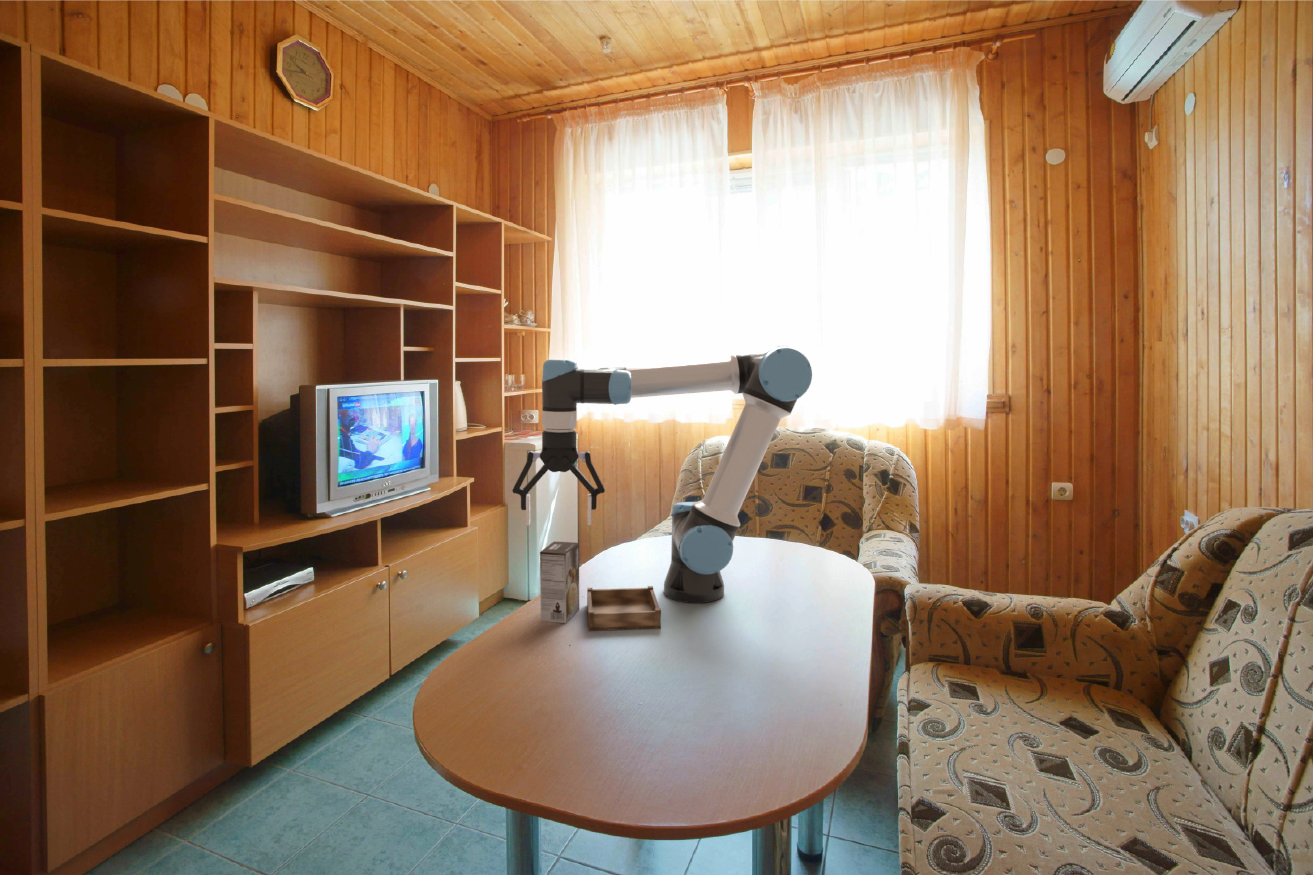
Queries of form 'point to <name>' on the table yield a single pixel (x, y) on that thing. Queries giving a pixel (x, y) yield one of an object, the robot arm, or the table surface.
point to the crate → (623, 609)
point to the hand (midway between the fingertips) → (558, 524)
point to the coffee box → (559, 581)
